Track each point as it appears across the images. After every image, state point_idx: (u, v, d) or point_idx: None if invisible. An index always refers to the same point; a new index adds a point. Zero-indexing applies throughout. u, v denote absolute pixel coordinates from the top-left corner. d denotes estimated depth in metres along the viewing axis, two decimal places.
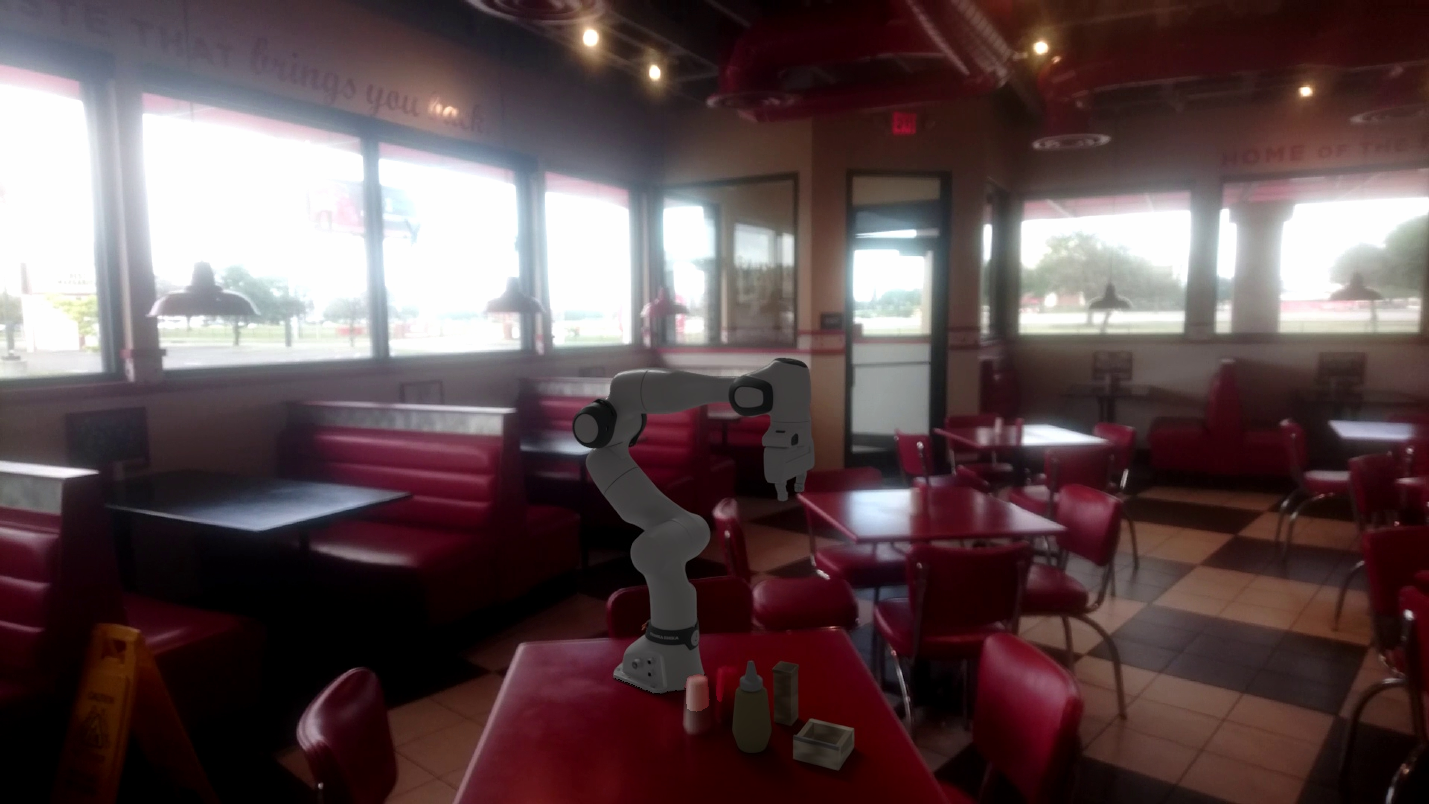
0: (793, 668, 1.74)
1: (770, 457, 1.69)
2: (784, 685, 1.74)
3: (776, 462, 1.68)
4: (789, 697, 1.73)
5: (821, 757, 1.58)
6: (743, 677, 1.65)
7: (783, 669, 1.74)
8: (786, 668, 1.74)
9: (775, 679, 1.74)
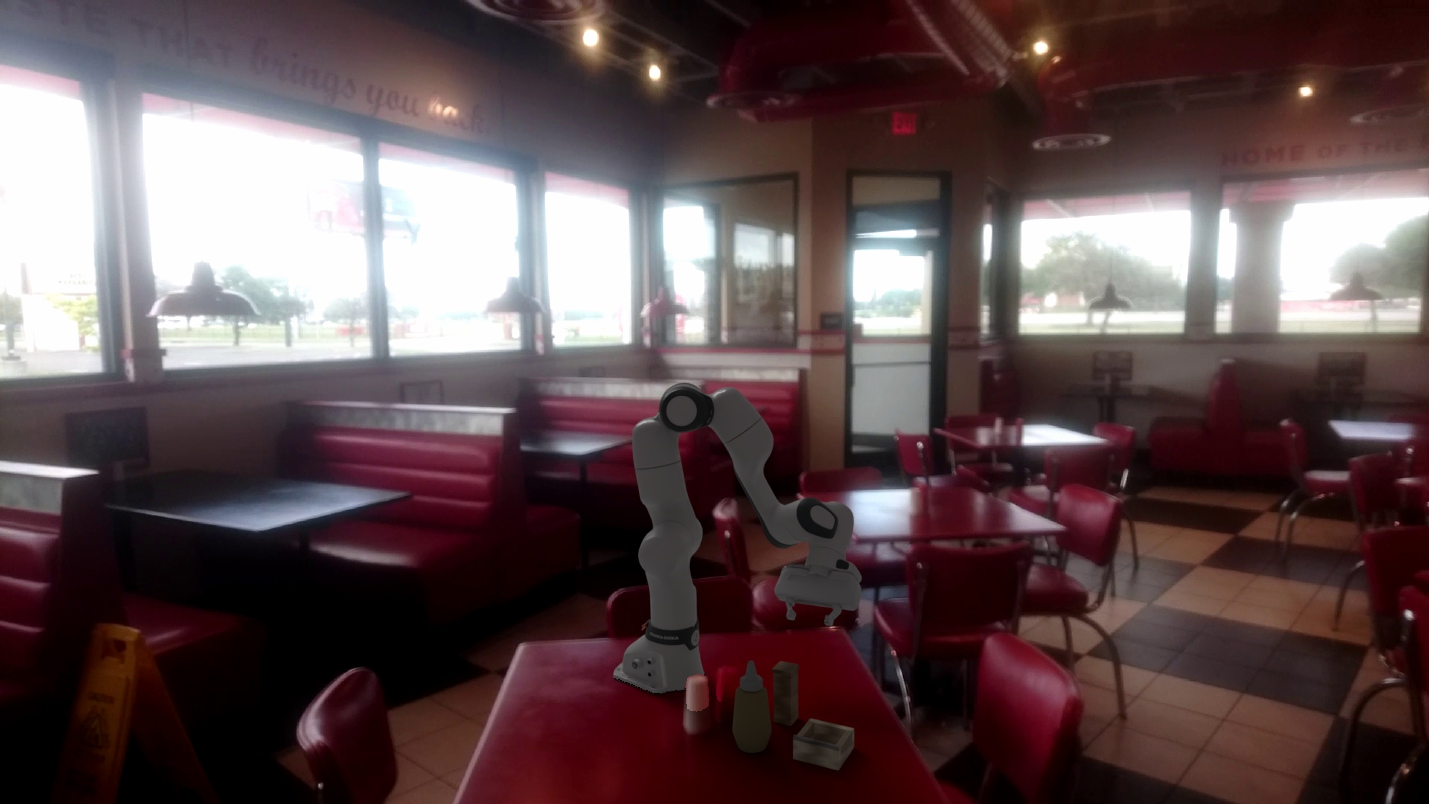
0: (793, 668, 1.74)
1: (857, 584, 1.84)
2: (784, 685, 1.74)
3: (859, 591, 1.85)
4: (789, 697, 1.73)
5: (821, 757, 1.58)
6: (743, 677, 1.65)
7: (783, 669, 1.74)
8: (786, 668, 1.74)
9: (775, 679, 1.74)
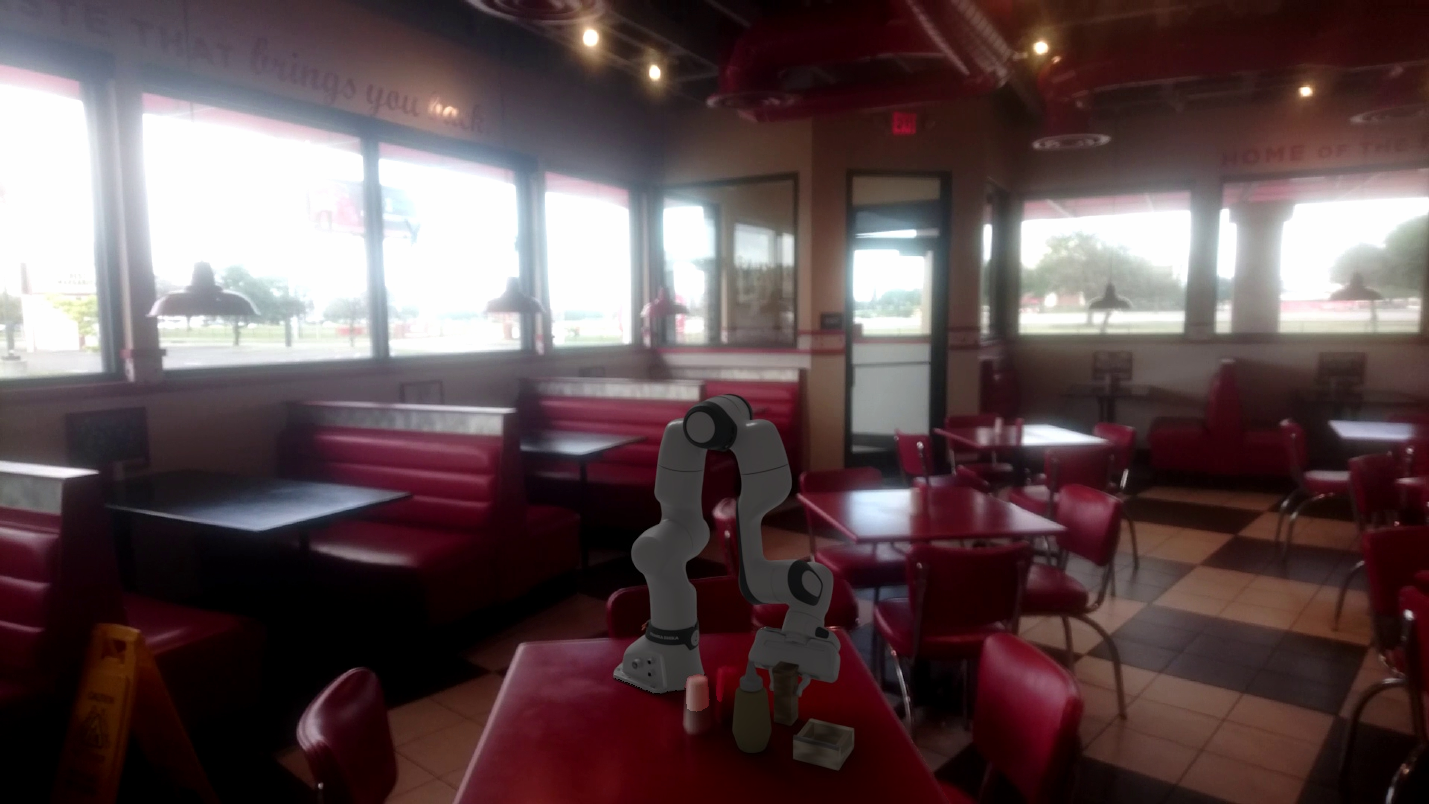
0: (793, 668, 1.74)
1: (837, 655, 1.76)
2: (784, 685, 1.74)
3: (838, 662, 1.76)
4: (789, 697, 1.73)
5: (821, 757, 1.58)
6: (743, 677, 1.65)
7: (783, 669, 1.74)
8: (786, 668, 1.74)
9: (775, 679, 1.74)
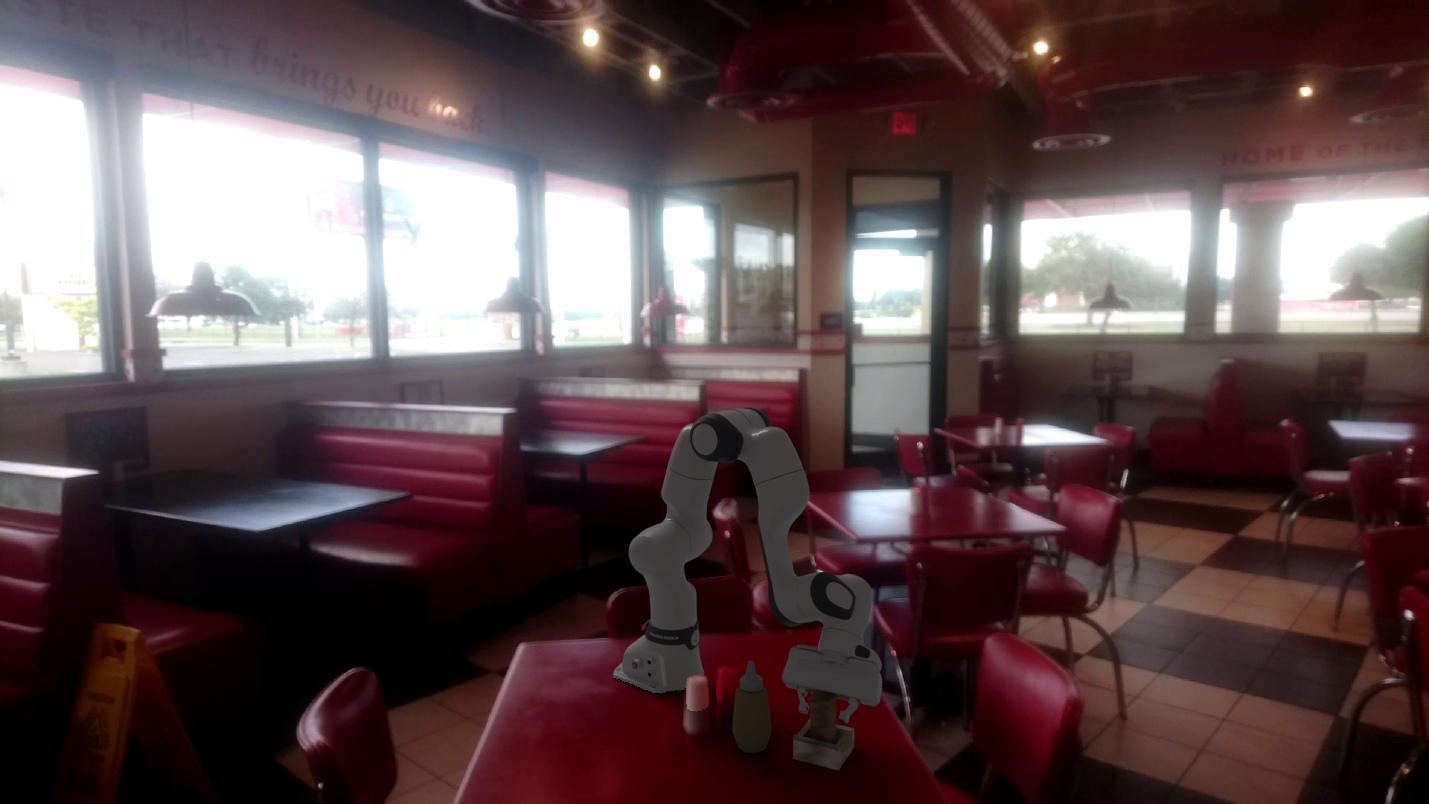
0: (831, 697, 1.61)
1: (879, 676, 1.62)
2: (822, 716, 1.60)
3: (880, 683, 1.62)
4: (827, 729, 1.60)
5: (821, 757, 1.58)
6: (743, 677, 1.65)
7: (820, 698, 1.61)
8: (823, 697, 1.61)
9: (812, 709, 1.61)
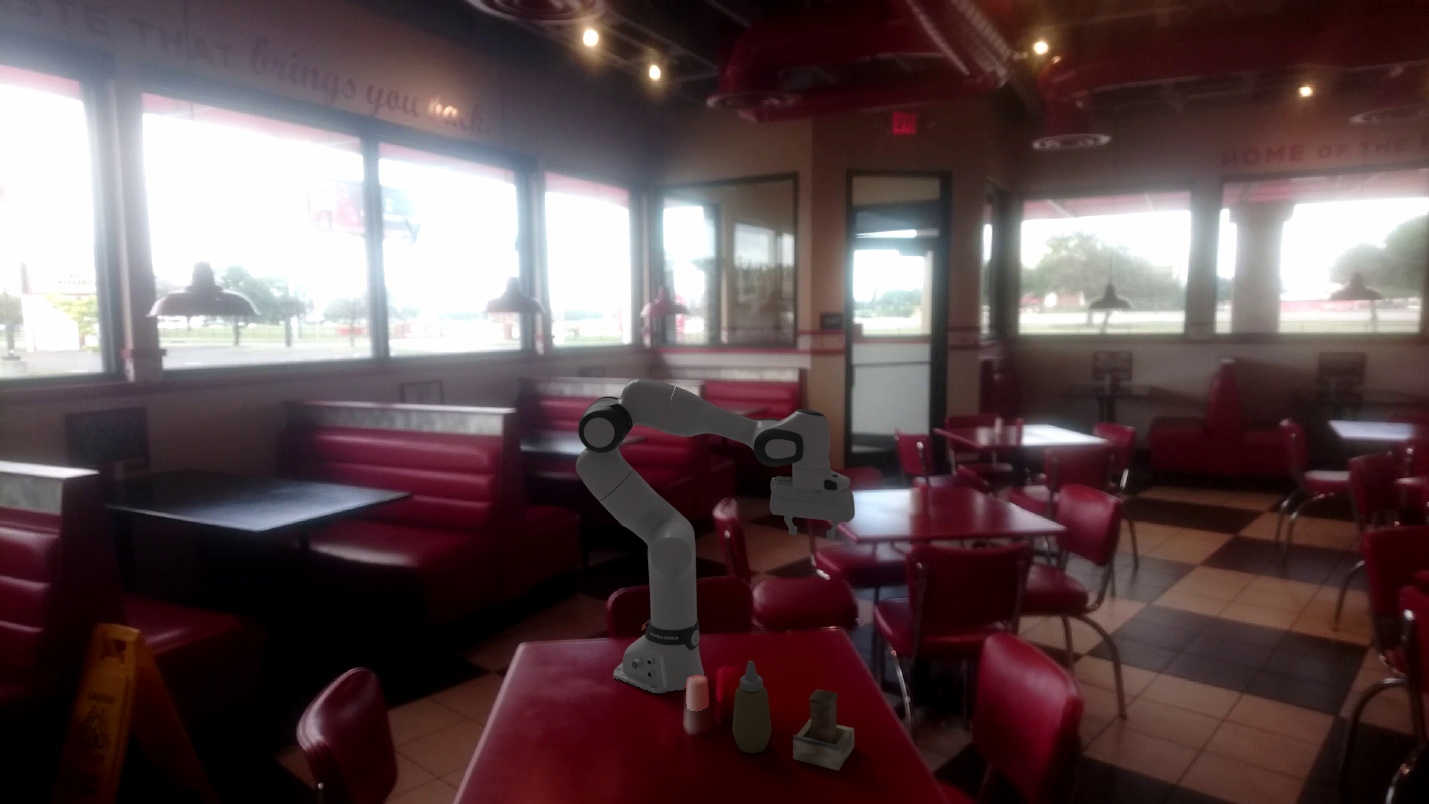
0: (832, 697, 1.61)
1: (849, 498, 1.86)
2: (822, 716, 1.60)
3: (852, 501, 1.87)
4: (828, 729, 1.60)
5: (821, 757, 1.58)
6: (743, 677, 1.65)
7: (821, 698, 1.61)
8: (824, 697, 1.61)
9: (812, 709, 1.61)
